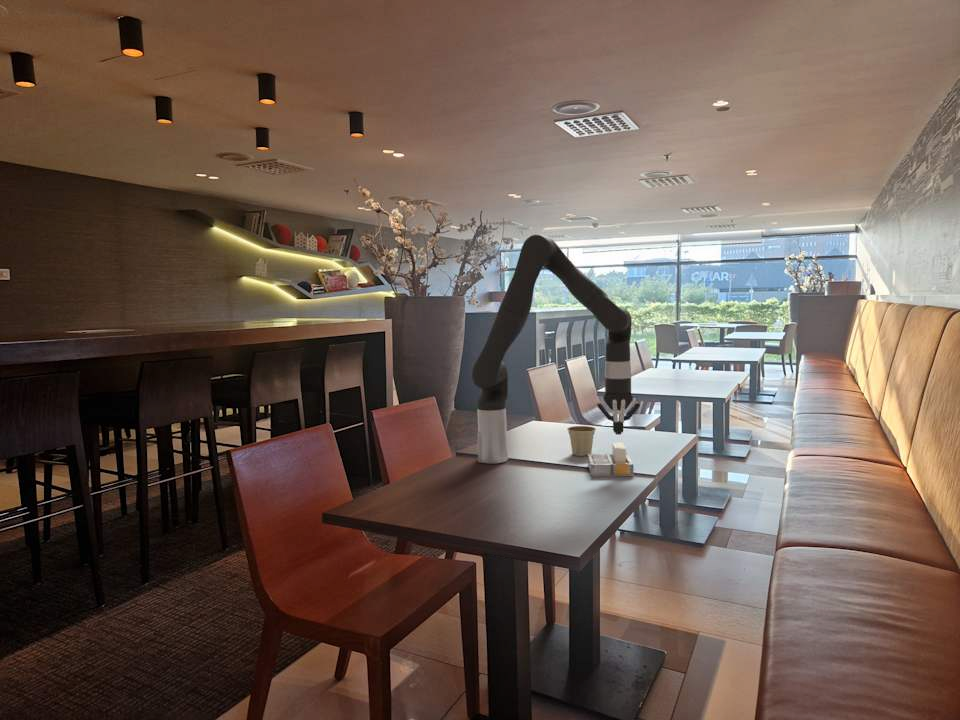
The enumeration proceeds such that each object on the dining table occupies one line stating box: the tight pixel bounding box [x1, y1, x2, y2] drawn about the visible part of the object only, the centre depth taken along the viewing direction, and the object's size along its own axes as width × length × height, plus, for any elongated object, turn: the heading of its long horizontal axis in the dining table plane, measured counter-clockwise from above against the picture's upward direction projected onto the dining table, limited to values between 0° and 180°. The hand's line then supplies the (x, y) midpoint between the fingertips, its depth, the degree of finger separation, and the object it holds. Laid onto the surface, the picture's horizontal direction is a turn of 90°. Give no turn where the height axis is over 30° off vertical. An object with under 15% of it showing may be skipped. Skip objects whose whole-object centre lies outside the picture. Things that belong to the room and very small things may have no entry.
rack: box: [587, 452, 634, 478], centre depth 186 cm, size 12×13×4 cm
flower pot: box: [567, 425, 597, 457], centre depth 207 cm, size 9×9×9 cm
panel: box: [611, 442, 627, 464], centre depth 186 cm, size 3×8×7 cm, turn 174°
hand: (618, 433), depth 185 cm, fingers closed
